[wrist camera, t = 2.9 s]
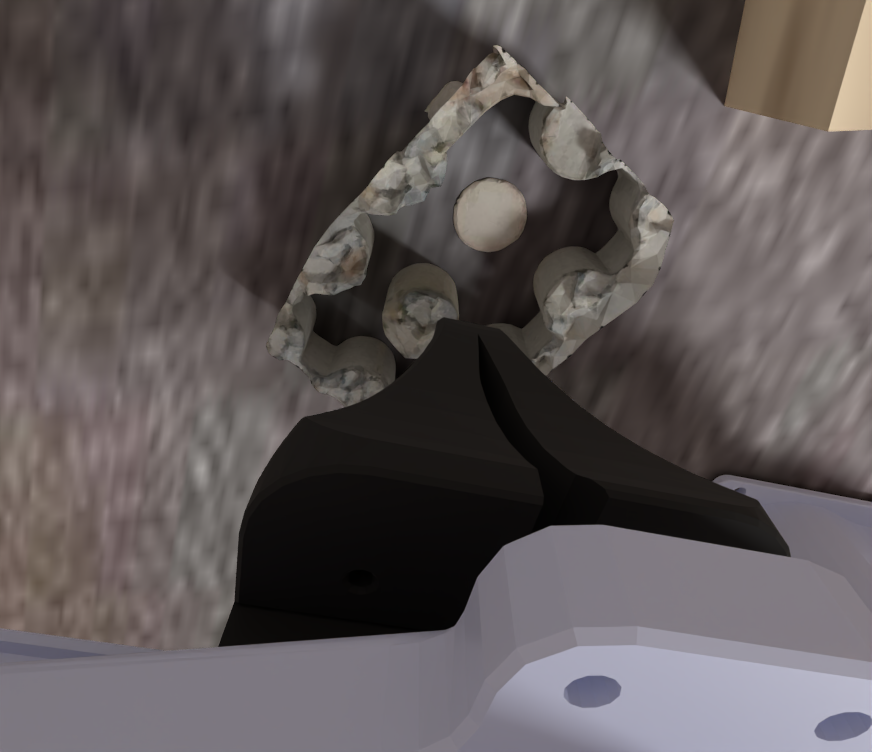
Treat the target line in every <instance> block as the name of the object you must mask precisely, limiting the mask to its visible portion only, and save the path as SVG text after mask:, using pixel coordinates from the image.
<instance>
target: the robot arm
mask: <svg viewBox="0 0 872 752" xmlns="http://www.w3.org/2000/svg"><path fill="white" fill-rule="evenodd" d="M737 488H739V489H738V490H735V489H737ZM734 490H735V491H734ZM0 752H872V502H869V501H864V500H859V499H854V498H848V497H843V496H838V495H833V494H827V493H822V492H817V491H812V490H806V489H801V488H796V487H791V486H785V485H780V484H775V483H770V482H764V481H759V480H754V479H749V478H743V477H738V476H733V475H722V476H719V477H717V478H715V479H714V481H713V482H712V481H709V480H707V479H704V478H702V477H699V476H697V475H695V474H693V473H691V472H689V471H686V470H684V469H682V468H680V467H678V466H676V465H674V464H672V463H670V462H668V461H666V460H664V459H662V458H660V457H658V456H656V455H654V454H653V453H651V452H649V451H647V450H645V449H643V448H642V447H640V446H638V445H637V444H635V443H633V442H632V441H630V440H628V439H627V438H625V437H623V436H622V435H620V434H618V433H617V432H615V431H614V430H612V429H611V428H609V427H608V426H606V425H605V424H603V423H602V422H600V421H599V420H598V419H596V418H595V417H594V416H592V415H591V414H590V413H588V412H587V411H586V410H584V409H583V408H581V407H580V406H579V405H578V404H576V403H575V402H574V401H573V400H572V399H570V398H569V397H568V396H567V395H566V394H565V393H564V392H563V391H561V390H560V389H559V388H558V387H557V386H556V385H555V384H554V383H553V382H551V381H550V380H549V379H548V378H547V377H546V376H545V375H544V374H543V373H542V372H541V371H540V370H539V369H538V368H537V367H536V366H535V365H534V364H533V362H532V361H531V360H530V359H529V358H528V357H527V356H526V355H525V354H524V353H523V352H522V351H521V350H520V349H519V348H518V346H517V345H516V344H515V343H514V342H513V341H512V340H511V339H510V338H509V337H508V336H507V335H506V334H505V333H504V332H503V331H502V330H500V329H498V328H493V327H488V326H484V325H479V324H474V323H469V322H464V321H460V320H455V319H450V318H445V317H443V318H441V319H440V320H438V321H437V324H436V328H435V332H434V336H433V338H432V340H431V341H430V343H429V344H428V346H427V347H426V349H425V350H424V352H423V353H422V354H421V355H420V356H419V357H418V359H417V360H416V361H415V362H414V363H413V364H412V365H411V366H410V367H409V368H408V369H407V370H406V371H405V372H404V373H403V374H402V375H401V376H400V377H399V378H397V379H396V380H395V381H394V382H392V383H391V384H390V385H388V386H387V387H385V388H384V389H382V390H381V391H379V392H378V393H376V394H375V395H373V396H371V397H369V398H368V399H365V400H363V401H361V402H358V403H356V404H353V405H350V406H348V407H345V408H341V409H338V410H334V411H330V412H325V413H321V414H317V415H313V416H307V417H304V418H302V419H301V420H300V421H299V422H298V423H297V425H296V426H295V427H294V428H293V429H292V431H291V432H290V433H289V434H288V436H287V437H286V438H285V439H284V441H283V442H282V444H281V445H280V446H279V448H278V449H277V451H276V452H275V453H274V455H273V456H272V458H271V459H270V461H269V463H268V464H267V466H266V467H265V469H264V471H263V473H262V474H261V476H260V478H259V479H258V482H257V484H256V486H255V488H254V490H253V493H252V495H251V498H250V500H249V503H248V505H247V508H246V510H245V513H244V516H243V520H242V524H241V528H240V531H239V542H238V557H237V572H236V587H235V602H234V605H233V608H232V610H231V613H230V616H229V619H228V621H227V624H226V627H225V630H224V632H223V635H222V638H221V641H220V644H219V646H218V647H211V648H198V649H184V650H171V651H165V650H157V649H150V648H143V647H135V646H128V645H120V644H113V643H106V642H98V641H91V640H84V639H76V638H69V637H61V636H54V635H47V634H39V633H32V632H25V631H17V630H10V629H2V628H0Z"/></svg>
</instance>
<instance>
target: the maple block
mask: <svg viewBox="0 0 872 752" xmlns="http://www.w3.org/2000/svg"><path fill="white" fill-rule="evenodd" d="M724 106H726V107H730V108H734V109H738V110H743V111H747V112H751V113H755V114H759V115H763V116H767V117H771V118H775V119H779V120H783V121H787V122H792V123H796V124H800V125H804V126H808V127H812V128H816V129H820V130H824V131H850V130H872V0H745V5H744V10H743V15H742V20H741V25H740V30H739V35H738V40H737V45H736V50H735V55H734V60H733V65H732V70H731V75H730V80H729V85H728V90H727V95H726V100H725V105H724Z"/></svg>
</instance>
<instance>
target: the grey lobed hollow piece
mask: <svg viewBox="0 0 872 752" xmlns="http://www.w3.org/2000/svg"><path fill="white" fill-rule="evenodd" d="M513 95H519V96H524V97H530V98H532V99H533V100H535V104H534V106H533V109H532V111H531V114H530V118H529V127H528V128H529V135H530V140H531V143H532V145H533V147H534V148H535V150H536V152H537V153H538V155H539V156H540V157H541V158H542V160H543V161H544V162H545V164H546V165H547V166H548V167H549V168H550V169H551V170H552V171H554V172H555V173H556V174H558V175H560V176H561V177H564V178H568V179H572V180H587V179H591V178H596V177H598V176H600V175H602V174H604V173H606V172H607V171H612V170H616V171H617V173H618V179H617V181H616V183H615V185H614V187H613V189H612V192H611V197H610V201H609V208H610V212H611V216H612V219H613V220H614V222H615V224H616V225H617V227H618V231H617V233H616V234H615V235H614V236H613V238H612V239H611V240H610V241H609V242H608V243H607V244H606V245H605V246H604V247H603V248H602V249H600V250H599V251H598V252H596V253H593V252H592V251H590V250H588V249H586V248H583V247H573V246H570V247H565V248H561V249H559V250H556V251H554V252H552V253H551V254H549V255H548V256H546V257H545V258H544V259H543V260H542V262H541V263H540V264H539V266H538V268H537V270H536V272H535V274H534V279H533V288H534V294H535V297H536V299H537V302H538V305H539V308H540V312H539V313H538V314H537V315H536V316H535V317H534V318H533V319H532V320H531V321H530V322H529V323H528V324H527V325H526V326H525V327H524V328H522V329H521V328H518V327H515V326H513V325H510V324H505V323H496V324H490V325H486V326H488V327H493V328H498V329H500V330H502V331H503V332H504V333H505V334H506V335H507V336H508V337H509V338H510V339H511V340H512V341H513V342H514V343H515V344H516V345H517V346H518V348H519V349H520V350H521V351H522V352H523V353H524V354H525V355H526V356H527V357H528V358H529V359H530V360H531V361H532V362H533V364H534V365H535V366H536V367H537V368H538V369H539V370H540V371H541V372H542V373H543V374H544V375H545V376H547V375H548V374H549V373H550V372H551V371H552V370H553V369H554V368H555V367H557V366H558V365H559V364H561V363H562V362H563V361H564V360H566V359H567V358H568V357H570V356H571V355H572V354H573V353H574V352H575V351H576V350H577V349H578V347H579V346H580V345H581V344H582V343H583V342H584V341H585V340H586V339H587V338H589V337H590V336H591V335H593V334H594V333H596V332H597V331H598V330H600V329H601V328H602V327H604V326H605V325H607V324H608V323H609V322H611V321H612V320H613V319H615V318H616V317H618V316H619V315H620V314H622V313H623V312H624V311H626V310H627V309H629V308H630V307H631V306H633V305H634V304H635V303H637V302H638V300H639V299H640V298H641V297H642V296H643V295H644V294H645V293H646V292H647V291H648V290H649V289H650V287H651V286H652V285H653V283H654V281H655V279H656V277H657V275H658V272H659V270H660V268H661V264H662V261H663V257H664V254H665V250H666V247H667V243H668V240H669V237H670V233H671V229H672V225H673V221H674V220H673V218H672V216H671V214H670V213H669V211H668V209H667V208H666V207H665V206H664V205H663V204H662V203H660V202H659V201H658V200H657V199H656V198H655V197H653V196H651V195H650V194H649V193H648V192H647V190H646V188H645V186H644V185H643V183H642V182H641V181H640V180H639V179H638V177H637V176H636V175H635V174H634V173H633V172H632V171H631V170H630V169H629V168H628V167H627V165H625V164H624V163H623V162H622V161H621V160H619V159H618V160H617V159H615V158H614V157H613V155H612V154H611V153H610V152H609V151H608V150H607V148H606V147H605V145H604V144H603V142H602V138H601V133H599V132H598V131H597V130H596V128H595V127H594V125H593V124H592V123H591V122H590V121H589V120H588V119H587V118H586V116H585V115H584V114H583V113H582V112H581V111H580V110H579V109H578V108H577V107H576V105H575V104H574V103H573V102H572V101H571V100H570V99H569V98H568V97H565V102H564V103H559V102H558V101H556V100H555V99H554V98H553V97H551V96H550V95H549V94H548V93H547V92H546V91H545V90H544V89H543V88H542V87H541V86H540V85H539V84H538V83H537V82H536V81H535V80H534V79H533V78H532V76H531V75H530V74H529V73H528V72H527V71H526V69H525V68H523V67H522V66H521V65H519V64H518V63H517V62H516V61H515V60H514V59H513V58H512V57H511V56H510V55H509V54H508V53H507V52H506V51H505V50H504V49H503V48H502V47H500V46H498V45H495V46H493V53H491V54H489V55H488V56H487V57H486V58H485V59H484V60H483V61H482V62H481V63H480V64H479V65H478V66H477V67H476V68H473V70H472V71H471V72H470V74H469V75H468V77H467V78H466V80H465V81H464V83H461V82H459V81H451V82H449V83H447V84H446V85H445V86H444V87H443V88H442V90H441V91H440V92H439V94H438V95H437V96H436V97H435V98H434V99H433V100H432V101H431V103H430V104H429V105H428V107H427V108H426V110H425V112H428V118H429V120H430V122H429V123H428V124H427V125H426V126H425V127H424V128H423V129H422V130H421V131H420V132H419V133H418V134H417V135H416V136H415V137H414V139H413V140H412V141H411V142H410V143H409V144H408V145H407V146H406V147H405V149H404V150H403V151H401V152H399V151H397V152H396V153H395V154H394V155H393V156H392V157H391V158H390V159H389V160H388V161H387V162H386V164H385V165H384V166H383V168H382V169H381V170H380V171H379V172H378V173H377V175H376V176H375V177H374V178H373V179H372V181H371V182H370V184H369V185H368V186H367V187H366V189H365V190H364V191H363V192H362V193H361V194H360V195H359V196H358V197H357V198H356V199H355V200H354V201H353V202H352V203H351V204H350V205H349V206H348V207H347V208H346V209H345V210H344V211H343V212H342V213H341V214H340V215H339V216H338V218H337V219H336V220H335V221H334V222H333V223H332V224H331V225H330V226H329V228H328V229H327V230H326V232H325V233H324V235H323V236H322V237H321V239H320V240H319V241H318V243H317V244H316V245H315V247H314V249H313V250H312V252H311V254H310V256H309V258H308V260H307V262H306V263H305V265H304V267H303V269H302V271H301V273H300V274H299V276H298V278H297V280H296V282H295V284H294V286H293V288H292V290H291V292H290V295H289V297H288V299H287V301H286V303H285V305H284V306H283V307H282V309H281V310H280V312H279V314H278V317H277V320H276V324H275V327H274V329H273V331H272V333H271V335H270V338H269V340H268V342H267V345H266V347H267V350H268V352H269V354H270V355H272V356H273V357H275V358H276V359H278V360H284V359H286V360H288V361H290V362H292V363H293V364H294V365H296V366H297V367H299V368H300V369H301V370H302V371H303V372H304V373H305V374H306V375H307V376H308V377H309V378H310V381H311V383H312V385H313V387H314V388H315V389H316V390H317V391H318V392H320V393H324V394H328V395H331V396H333V397H334V398H336V399H337V400H338V401H340V402H341V403H342V404H343V405H344V406H345V407H348V406H350V405H353V404H356V403H358V402H361V401H363V400H365V399H368V398H369V397H371V396H373V395H375V394H376V393H378V392H379V391H381V390H382V389H384V388H385V387H387V386H388V385H390V384H391V383H392V382H394V381H395V372H396V364H395V359H394V355H393V353H392V351H391V350H390V348H389V347H388V346H387V345H386V344H385V343H383V342H382V341H380V340H378V339H375V338H372V337H365V336H357V337H352V338H350V339H347V340H345V341H344V342H342V343H341V344H340V345H338V346H334V345H332V344H330V343H329V342H327V341H326V340H324V339H323V338H321V337H320V336H318V335H317V334H316V333H314V332H313V327H314V324H315V320H316V306H315V303H314V301H313V299H312V297H311V296H310V295H312V294H315V293H317V294H324V295H335V294H337V293H339V292H342V291H344V290H347V289H350V288H352V287H353V286H359V285H361V284H362V282H363V280H364V279H365V277H366V275H367V266H368V262H369V259H370V256H371V253H372V248H373V244H374V229H373V226H372V223H371V221H370V218H369V216H368V215H367V213H368V214H375V215H393V214H396V213H397V211H398V209H399V208H401V207H403V206H405V205H414V204H417V203H419V202H422V201H424V200H425V198H426V196H427V194H428V192H429V191H430V189H431V188H433V187H439V186H441V185H442V183H443V180H444V177H445V172H446V167H447V153H446V151H447V150H448V149H449V148H450V147H451V146H452V145H453V144H454V143H455V142H456V141H457V140H458V139H459V138H460V137H461V136H462V135H463V134H464V133H465V132H466V131H467V130H468V129H469V128H470V127H471V126H472V125H473V124H474V123H475V122H476V121H477V120H478V119H479V118H480V117H481V116H482V115H483V114H484V112H486V111H487V110H488V109H490V108H491V107H492V106H494V105H495V104H496V103H498V102H499V101H501V100H503V99H505V98H508V97H510V96H513ZM453 220H454V227H455V230H456V232H457V234H458V236H459V238H460V239H461V240H462V241H463V242H464V244H466V245H467V246H469V247H471V248H473V249H475V250H479V251H484V252H493V251H499V250H501V249H503V248H505V247H506V246H508V245H510V244H511V243H513V242H514V241H516V240H517V239H518V238H519V237H520V235H521V234H522V232H523V230H524V227H525V224H526V220H527V210H526V202H525V199H524V197H523V195H522V193H521V192H520V191H519V190H518V189H517V187H516V186H514V185H513V184H511V183H510V182H508V181H506V180H500V179H495V178H486V179H483V180H479V181H475V182H474V183H472V184H471V185H470V186H468V187H467V188H466V189H465V190H463V192H462V193H461V195H460V198H459V199H458V200H457V204H456V205H455V206H454V215H453ZM443 317H445V318H450V319H455V320H459V308H458V296H457V290H456V286H455V282H454V281H453V279H452V278H451V277H450V275H449V274H448V273H447V272H446V271H444V270H442V269H441V268H439V267H437V266H435V265H432V264H429V263H418V264H413V265H410V266H408V267H406V268H404V269H402V270H400V271H399V272H398V273H397V274H396V275H395V276H394V277H393V278H392V281H391V283H390V285H389V288H388V292H387V297H386V301H385V305H384V310H383V312H382V319H381V320H382V321H383V329H384V332H385V335H386V337H387V338H388V339H389V341H390V342H391V343H392V344H393V346H394V347H395V348H396V349H397V350H398V351H399V352H400V353H401V354H402V355H403V356H404V357H405V358H411V359H418V357H419V356H420V355H421V354H422V353H423V352H424V350H425V349H426V347H427V346H428V344H429V343H430V341H431V340H432V338H433V336H434V332H435V328H436V324H437V321H438V320H440V319H441V318H443Z"/></svg>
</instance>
